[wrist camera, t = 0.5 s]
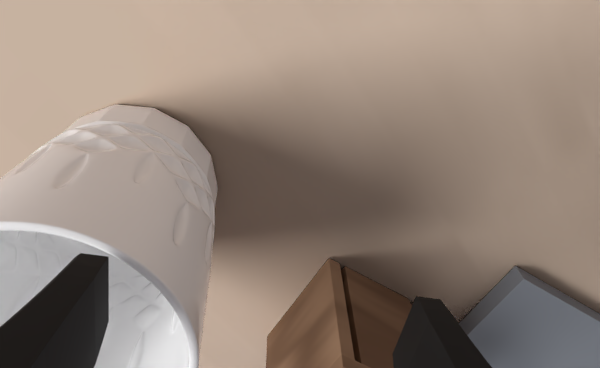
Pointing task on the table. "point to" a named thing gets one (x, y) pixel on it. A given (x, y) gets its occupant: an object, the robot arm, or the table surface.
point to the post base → (533, 326)
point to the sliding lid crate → (339, 323)
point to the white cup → (118, 229)
